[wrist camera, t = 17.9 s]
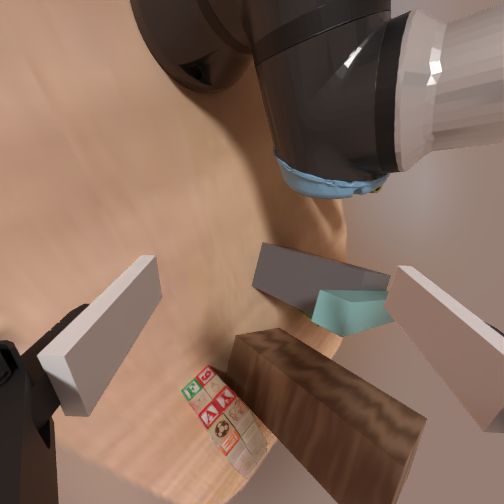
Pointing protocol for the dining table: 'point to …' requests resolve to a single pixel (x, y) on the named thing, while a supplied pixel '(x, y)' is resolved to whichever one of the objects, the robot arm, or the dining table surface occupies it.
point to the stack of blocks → (226, 421)
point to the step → (309, 276)
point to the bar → (350, 310)
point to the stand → (326, 416)
